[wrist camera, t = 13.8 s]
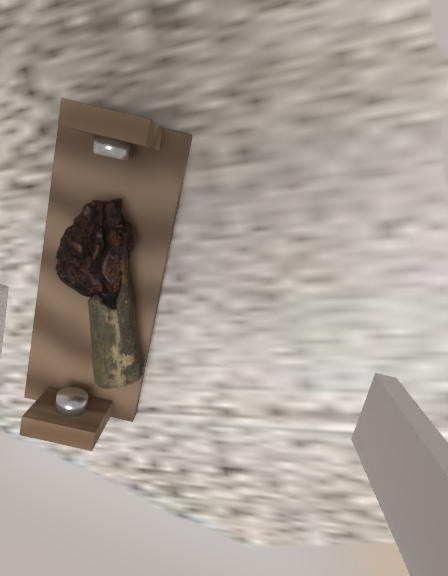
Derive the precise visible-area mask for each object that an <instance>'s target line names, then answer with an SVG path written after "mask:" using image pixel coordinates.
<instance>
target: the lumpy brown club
mask: <svg viewBox="0 0 448 576" xmlns="http://www.w3.org/2000/svg"><path fill="white" fill-rule="evenodd" d="M122 206H123V200H122V199H121V198H118V199H112V200H111V201H100V200H92V202H90V203H87V204H85V205H84V206H83V208H82V211H81V213H80V214H79V215H78V216H77V217H76V218H75V219H74V220H73V222H74V223H73V225H72V226H70V227H68V228H66V230H65V232H64V234H63V236H62V238H61V239H60V240H61V241H60V246H59V248H58V250H57V252H56V259H57V264H56V268H55V270H56V271H57V272H56V274H57V275H58V277H59V279H60V280H61V281H62V282H63V283H65V284H66V285H67V286H68V287H70V288H72V289H73V290H75V291H77V292H78V293H79V294H81V295H83V296H86V297H89V298H90V299H89V300H88V309H89V318H90V332H91V343H92V360H93V375H94V382H95V384H96V385H97V386H98V387H100V388H103V389H112V388H119V387H124V386H129V385H132V384H134V383H136V382H137V381H138V380H139V379H140V378H142V376H143V371H142V365H141V358H140V351H139V343H138V335H137V328H136V321H135V312H134V302H133V293H132V284H131V275H130V264H129V258H130V252H132V251H133V250H134V246H135V242H134V238H133V235H132V233H131V231H132V227H131V224H130V223H129V222H127V221H126V220H125V218H124V216H123V214H122V213H121V210H122Z"/></svg>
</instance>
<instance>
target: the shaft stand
mask: <svg viewBox="0 0 448 576" xmlns="http://www.w3.org/2000/svg"><path fill="white" fill-rule="evenodd" d="M191 140H192V136H191V135H189V134H185V133H181V132H177V131H173V130H169V129H164V128H162V127H161V126H159V125H158V124H156V123H155V122H153V121H152V120H150V119H146V118H142V117H138V116H134V115H130V114H125V113H121V112H117V111H113V110H109V109H105V108H101V107H97V106H93V105H89V104H85V103H80V102H76V101H72V100H68V99H64V98H62V99H61V107H60V115H59V123H58V132H57V140H56V148H55V156H54V164H53V172H52V180H51V188H50V196H49V204H48V213H47V221H46V229H45V237H44V245H43V253H42V261H41V269H40V277H39V285H38V293H37V301H36V309H35V317H34V325H33V333H32V341H31V349H30V357H29V365H28V373H27V381H26V389H25V398H29V399H34V400H37V401H36V402H35V403H34V404H33V405H32V406H31V407H30V408H29V409H28V410H27V412H26V413H25V414H24V415H23V416H22V420H21V428H20V435H22V436H27V437H31V438H36V439H40V440H45V441H49V442H54V443H58V444H63V445H67V446H72V447H76V448H81V449H85V450H90V451H92V450H93V448H94V446H95V444H96V442H97V441H98V439H99V437H100V435H101V433H102V431H103V429H104V427H105V426H106V424H107V422H108V420H109V418H110V417H114V418H118V419H123V420H127V421H131V422H133V420H134V418H135V415H136V411H137V406H138V401H139V396H140V392H141V387H142V382H143V377H144V372H145V367H146V362H147V357H148V352H149V347H150V342H151V337H152V332H153V327H154V322H155V317H156V313H157V308H158V303H159V298H160V293H161V288H162V283H163V278H164V273H165V268H166V263H167V258H168V253H169V248H170V243H171V239H172V234H173V229H174V224H175V219H176V214H177V209H178V204H179V199H180V194H181V189H182V184H183V179H184V174H185V169H186V164H187V160H188V155H189V150H190V145H191ZM118 198H121V199H122V200H123V206H122V210H121V213H122V214H123V216H124V218H125V220H126V221H127V222H129V223H130V224H131V227H132V231H131V233H132V235H133V238H134V242H135V246H134V250H133V251H132V252H130V258H129V264H130V275H131V284H132V293H133V302H134V312H135V321H136V328H137V335H138V343H139V351H140V358H141V365H142V371H143V376H142V378H140V379H139V380H138V381H137V382H136V383H134V384H132V385H129V386H124V387H119V388H112V389H103V388H100V387H98V386H97V385H96V384H95V382H94V375H93V360H92V343H91V332H90V318H89V309H88V300H89V299H90V298H89V297H86V296H83V295H81V294H79V293H78V292H77V291H75V290H73V289H72V288H70V287H68V286H67V285H66V284H65V283H63V282H62V281H61V280H60V279H59V277H58V275H57V274H56V272H57V271H56V270H55V268H56V264H57V259H56V252H57V250H58V248H59V246H60V241H61V240H60V239H61V238H62V236H63V234H64V232H65V230H66V228H68V227H70V226H72V225H73V223H74V222H73V220H74V219H75V218H76V217H77V216H78V215H79V214H80V213H81V211H82V208H83V206H84V205H85V204H87V203H90V202H92V200H100V201H111V200H112V199H118Z"/></svg>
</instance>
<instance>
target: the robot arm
mask: <svg viewBox="0 0 448 576" xmlns="http://www.w3.org/2000/svg"><path fill="white" fill-rule="evenodd" d="M8 289H9V286H5V285H1V284H0V359H1V352H2V343H3V334H4V325H5V316H6V307H7V298H8ZM351 440H352V442H353V444H354V446H355V449H356V451H357V453H358V456H359V458H360V460H361V463H362V465H363V467H364V470H365V472H366V474H367V477H368V479H369V481H370V483H371V486H372V488H373V490H374V493H375V495H376V497H377V500H378V502H379V504H380V507H381V509H382V511H383V514H384V516H385V518H386V520H387V523H388V525H389V527H390V530H391V532H392V534H393V537H394V539H395V541H396V544H397V546H398V548H399V551H400V553H401V555H402V557H403V560H404V562H405V564H406V567H407V569H408V571H409V574H410V576H448V443H447V441H446V440H445V439H444V438H443V436H442V435H441V434H440V433H439V431H438V430H437V429H436V428H435V426H434V425H433V424H432V422H431V421H430V420H429V419H428V417H427V416H426V415H425V414H424V412H423V411H422V410H421V409H420V407H419V406H418V405H417V403H416V402H415V401H414V400H413V398H412V397H411V396H410V395H409V393H408V392H407V391H406V390H405V388H404V387H403V386H402V384H401V383H400V382H399V381H398V379H397V378H395V377H390V376H386V375H382V374H378V373H375V376H374V378H373V381H372V384H371V387H370V389H369V392H368V395H367V398H366V400H365V403H364V406H363V409H362V412H361V414H360V417H359V420H358V423H357V425H356V428H355V431H354V434H353V436H352V439H351Z"/></svg>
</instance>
